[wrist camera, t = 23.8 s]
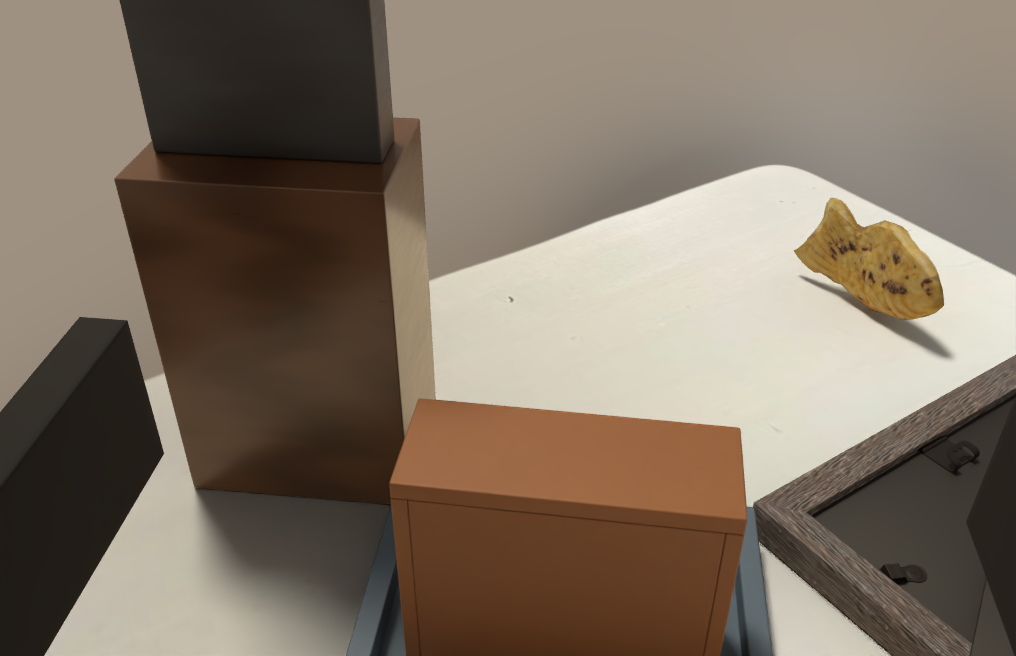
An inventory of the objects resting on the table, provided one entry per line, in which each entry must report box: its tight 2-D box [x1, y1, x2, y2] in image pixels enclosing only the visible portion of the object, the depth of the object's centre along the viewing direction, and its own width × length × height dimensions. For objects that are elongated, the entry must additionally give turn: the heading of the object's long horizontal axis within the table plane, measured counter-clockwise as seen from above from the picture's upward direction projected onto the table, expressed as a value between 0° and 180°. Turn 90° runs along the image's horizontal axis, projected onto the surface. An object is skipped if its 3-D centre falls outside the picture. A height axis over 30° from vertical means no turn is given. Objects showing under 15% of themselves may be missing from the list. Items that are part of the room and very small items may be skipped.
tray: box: [346, 506, 773, 656], centre depth 33 cm, size 14×12×2 cm
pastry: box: [794, 198, 944, 320], centre depth 49 cm, size 9×2×5 cm, turn 36°
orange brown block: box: [389, 398, 748, 656], centre depth 30 cm, size 10×4×9 cm, turn 82°
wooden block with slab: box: [115, 0, 436, 504], centre depth 34 cm, size 9×6×26 cm, turn 83°
